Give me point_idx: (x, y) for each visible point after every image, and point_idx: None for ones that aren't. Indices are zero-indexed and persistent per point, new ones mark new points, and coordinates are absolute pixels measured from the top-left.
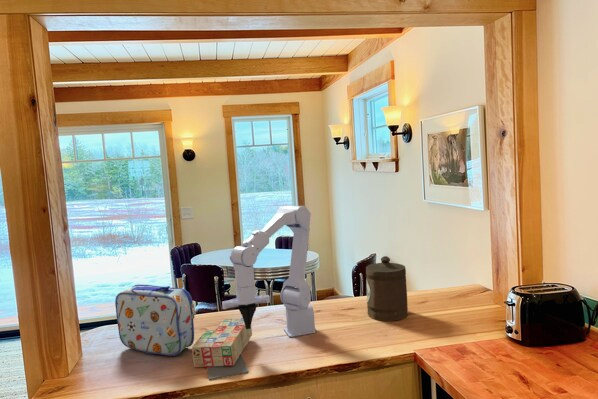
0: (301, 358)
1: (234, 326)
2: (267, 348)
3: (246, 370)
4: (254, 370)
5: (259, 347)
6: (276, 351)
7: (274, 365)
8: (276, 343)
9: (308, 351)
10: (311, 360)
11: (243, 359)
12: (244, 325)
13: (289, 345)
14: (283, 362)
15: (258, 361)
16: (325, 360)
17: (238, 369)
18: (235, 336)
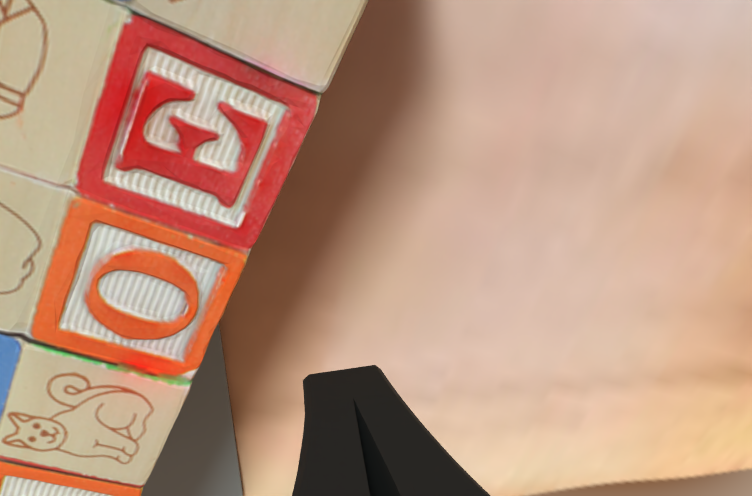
0: (640, 380)
1: (87, 41)
2: (491, 135)
3: (228, 491)
4: (289, 471)
5: (423, 78)
6: (540, 226)
7: (441, 433)
8: (616, 42)
9: (739, 296)
10: (675, 415)
11: (218, 330)
12: (311, 111)
13: (691, 141)
14: (512, 407)
15: (345, 359)
16: (737, 428)
17: (165, 471)
18: (126, 482)
